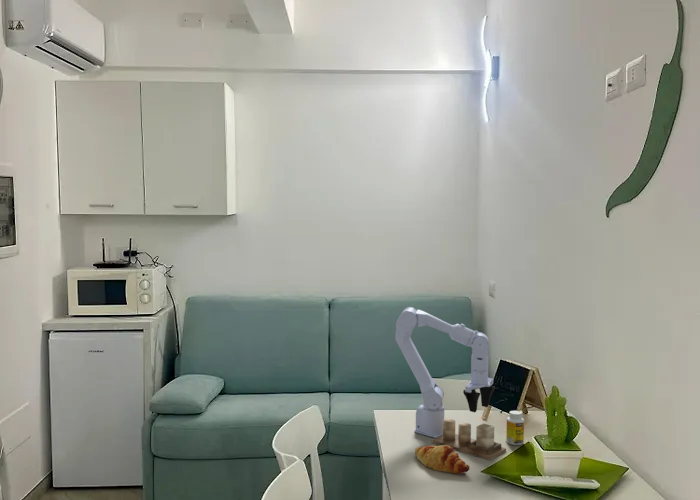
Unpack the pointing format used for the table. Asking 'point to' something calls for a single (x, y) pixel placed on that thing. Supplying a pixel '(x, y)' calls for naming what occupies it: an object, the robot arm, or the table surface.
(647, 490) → the table surface
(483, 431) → the maple block
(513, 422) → the supplement bottle
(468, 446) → the walnut rail
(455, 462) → the croissant
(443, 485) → the table surface
